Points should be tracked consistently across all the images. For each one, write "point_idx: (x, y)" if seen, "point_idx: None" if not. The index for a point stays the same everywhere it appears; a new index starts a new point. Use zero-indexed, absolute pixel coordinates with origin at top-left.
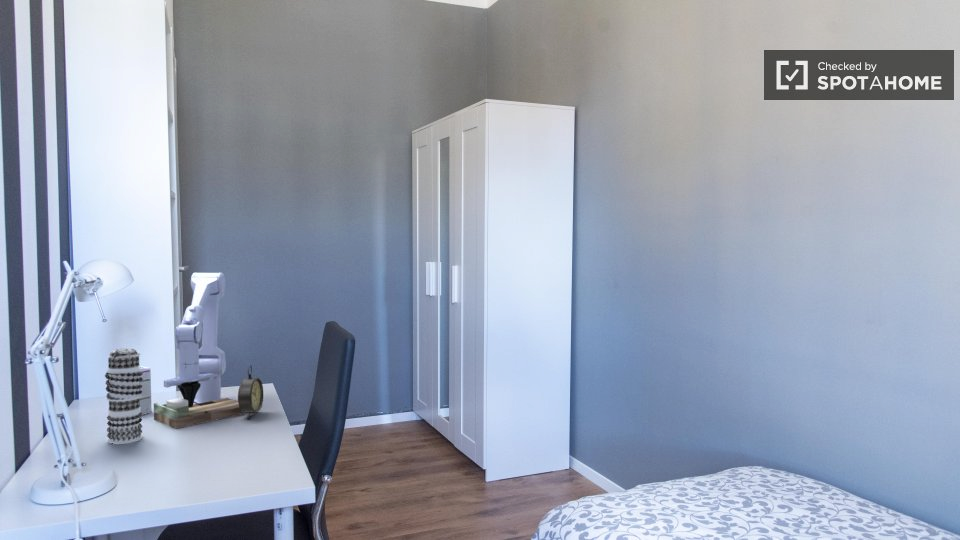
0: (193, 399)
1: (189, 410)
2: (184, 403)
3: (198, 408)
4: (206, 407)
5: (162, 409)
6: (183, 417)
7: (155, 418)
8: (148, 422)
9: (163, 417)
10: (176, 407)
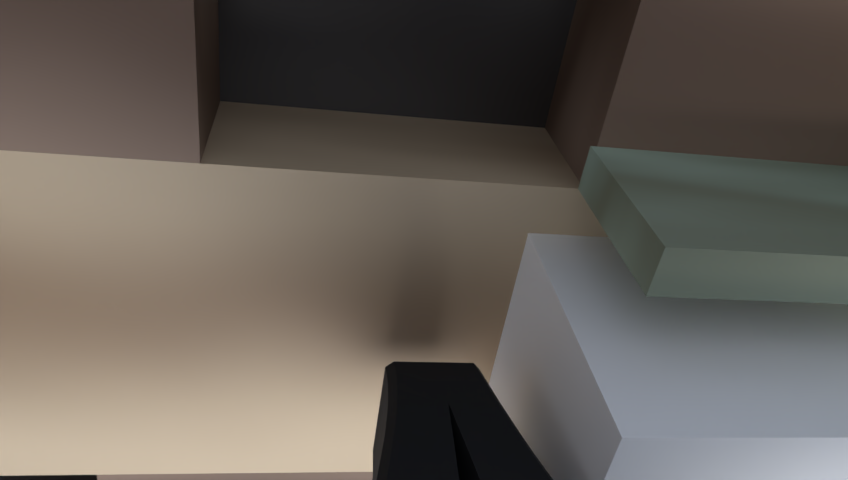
0: (408, 478)
1: None
2: (691, 388)
3: (207, 380)
4: (54, 346)
5: None
6: (796, 41)
7: None
8: None
9: None
10: (832, 350)
